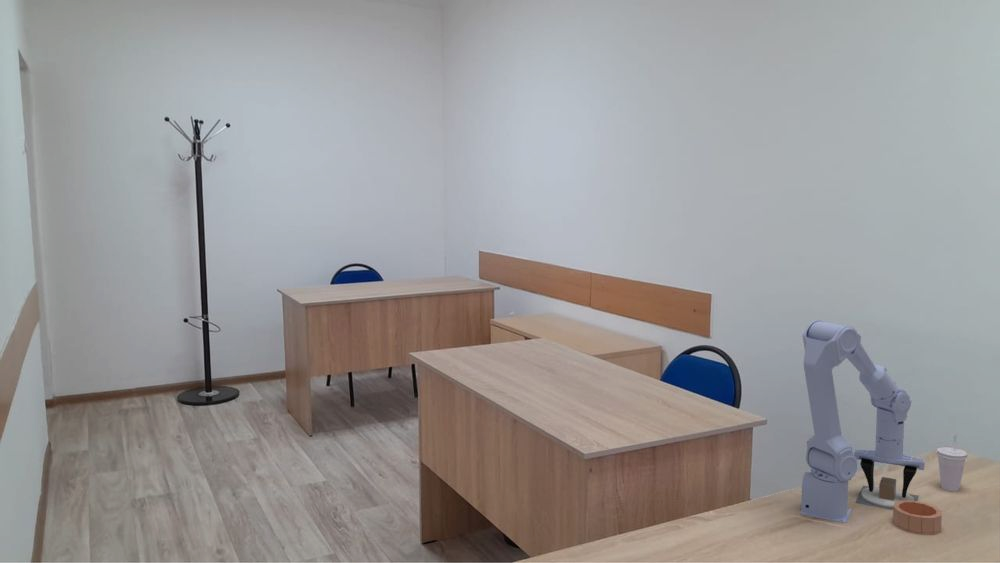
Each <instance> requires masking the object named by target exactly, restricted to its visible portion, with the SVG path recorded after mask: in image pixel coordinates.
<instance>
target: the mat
mask: <svg viewBox="0 0 1000 563" xmlns="http://www.w3.org/2000/svg"><path fill="white" fill-rule="evenodd" d="M865 488H869V486H868V485H862V487H861V489H860V492H859V494H858V496H857V498H856V501H855V503H856V504H859V505H865V506H870V507H875V508H879V509H881V508H882V509H885V510H891V511H893V508H886V507H881V506H877V505H874V504H871V503H869V502H867V501H866V500H864V499H863V498H862V496H861V492H862V490H863V489H865ZM908 494H909V495H911V496H912V497H913V498H914V501H918V502H919V496H920V495H919V494H918V495H916V494H912V493H908Z"/></svg>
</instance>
